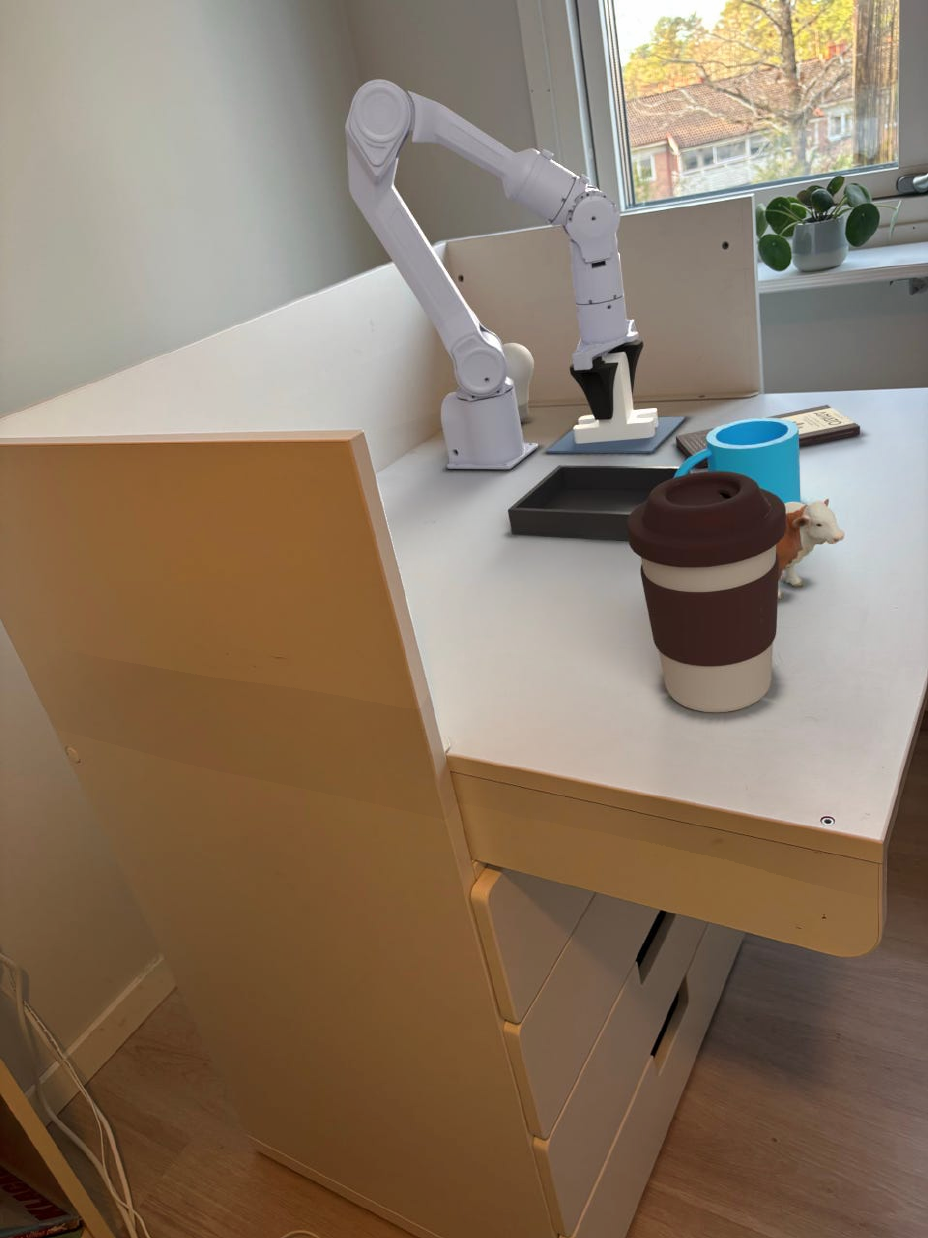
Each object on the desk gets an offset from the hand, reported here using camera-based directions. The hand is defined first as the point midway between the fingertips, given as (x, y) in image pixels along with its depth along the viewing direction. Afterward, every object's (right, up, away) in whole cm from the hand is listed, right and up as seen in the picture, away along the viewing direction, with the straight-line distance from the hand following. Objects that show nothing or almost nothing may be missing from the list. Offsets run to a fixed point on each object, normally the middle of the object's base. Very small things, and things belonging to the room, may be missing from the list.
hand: (613, 410), depth 116 cm
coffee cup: (-1, -31, -50) cm, 59 cm away
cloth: (+1, -3, +2) cm, 3 cm away
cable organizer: (+1, -3, +1) cm, 3 cm away
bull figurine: (+6, -24, -39) cm, 46 cm away
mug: (+8, -17, -26) cm, 32 cm away
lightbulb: (-11, +1, +15) cm, 18 cm away
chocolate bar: (+16, -6, -10) cm, 19 cm away
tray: (-4, -15, -19) cm, 25 cm away
